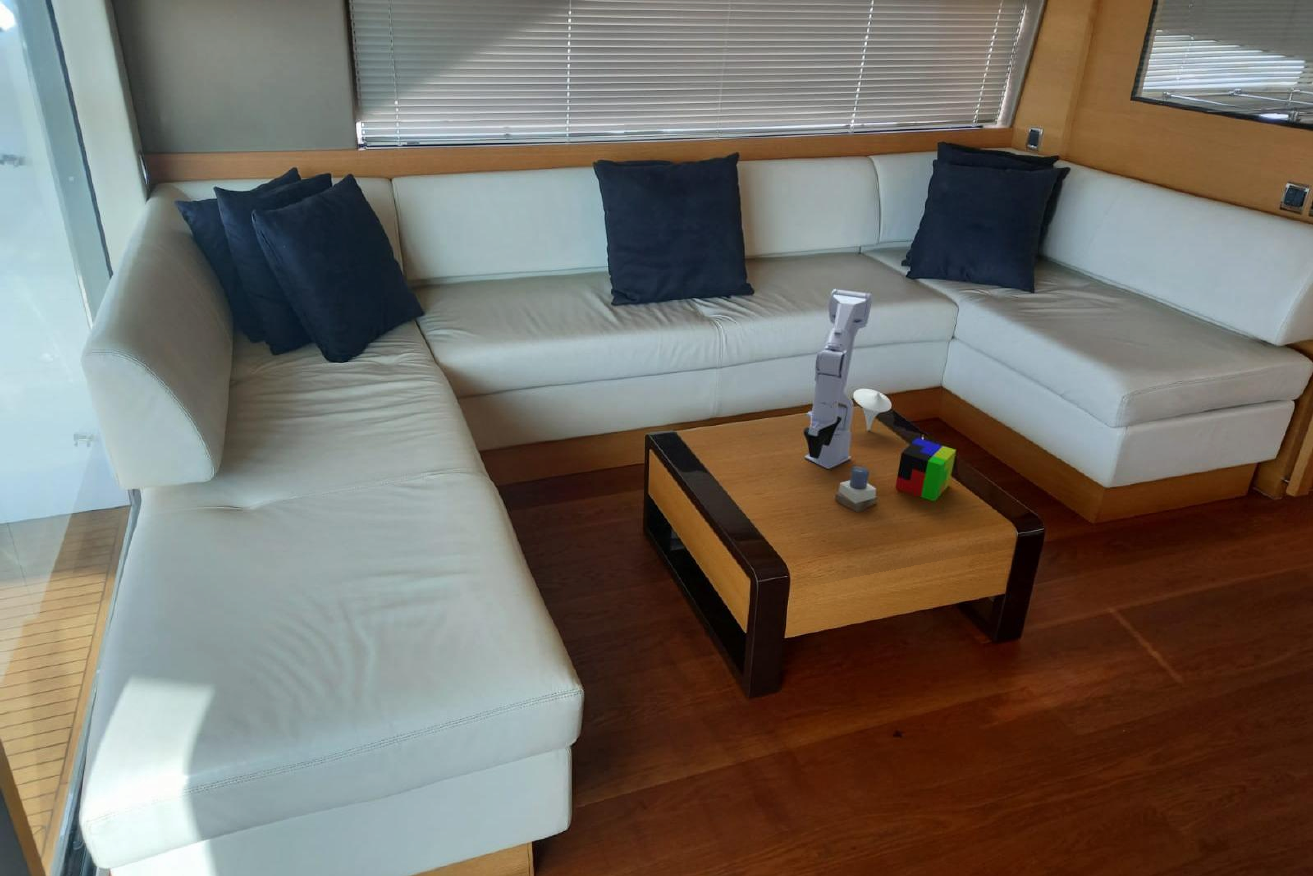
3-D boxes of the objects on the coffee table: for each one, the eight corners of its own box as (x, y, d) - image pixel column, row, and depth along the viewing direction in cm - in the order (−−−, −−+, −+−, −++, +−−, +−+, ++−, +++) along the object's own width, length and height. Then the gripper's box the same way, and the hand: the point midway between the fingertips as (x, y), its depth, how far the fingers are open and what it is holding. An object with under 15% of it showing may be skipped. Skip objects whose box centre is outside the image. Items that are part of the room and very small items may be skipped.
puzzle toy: (910, 473, 237) (916, 438, 233) (948, 485, 232) (956, 450, 228) (895, 488, 230) (901, 452, 225) (934, 501, 225) (941, 465, 220)
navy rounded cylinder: (853, 479, 224) (856, 464, 222) (869, 484, 222) (871, 470, 220) (846, 485, 221) (849, 471, 219) (862, 491, 219) (865, 476, 217)
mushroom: (894, 431, 258) (901, 391, 253) (872, 442, 252) (878, 401, 246) (864, 418, 265) (869, 379, 260) (840, 429, 258) (846, 389, 253)
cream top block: (858, 486, 226) (859, 477, 225) (874, 497, 222) (876, 488, 220) (838, 492, 223) (840, 482, 222) (855, 503, 219) (856, 494, 218)
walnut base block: (852, 493, 228) (854, 484, 227) (876, 505, 223) (877, 496, 222) (834, 502, 224) (835, 493, 223) (857, 514, 219) (858, 505, 218)
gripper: (820, 384, 225) (814, 435, 231) (798, 406, 213) (792, 458, 219) (848, 391, 222) (841, 442, 228) (828, 413, 210) (821, 466, 217)
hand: (819, 450), depth 224 cm, fingers open, 7 cm apart
